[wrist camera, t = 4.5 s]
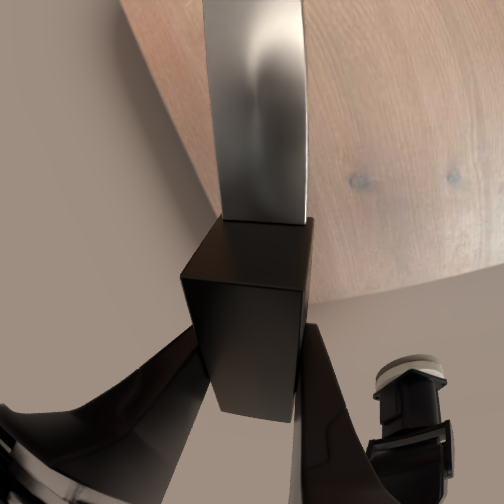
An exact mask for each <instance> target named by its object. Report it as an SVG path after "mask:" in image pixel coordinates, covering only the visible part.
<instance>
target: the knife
mask: <svg viewBox="0 0 504 504" xmlns="http://www.w3.org/2000/svg"><path fill="white" fill-rule="evenodd" d="M202 2H203V18H204V32H205V46H206V59H207V71H208V83H209V94H210V105H211V116H212V126H213V136H214V146H215V156H216V165H217V174H218V184H219V192H220V201H221V210H222V214H221V215H220V217H219V218H218V219H217V221H216V222H215V224H214V225H213V227H212V228H211V230H210V231H209V232H208V234H207V235H206V237H205V238H204V240H203V241H202V243H201V244H200V246H199V247H198V249H197V250H196V252H195V253H194V255H193V256H192V258H191V259H190V261H189V262H188V264H187V265H186V267H185V268H184V270H183V271H182V273H181V274H180V280H181V284H182V288H183V292H184V295H185V299H186V302H187V306H188V310H189V313H190V317H191V320H192V324H193V327H194V331H195V334H196V337H197V341H198V344H199V347H200V350H201V354H202V357H203V360H204V363H205V366H206V369H207V372H208V375H209V378H210V381H211V384H212V387H213V390H214V393H215V395H216V399H217V401H218V404H219V407H220V409H221V411H223V412H228V413H232V414H237V415H242V416H248V417H253V418H259V419H265V420H271V421H278V422H285V423H290V422H291V419H292V414H293V408H294V403H295V391H296V384H297V376H298V368H299V360H300V353H301V347H302V341H303V334H304V328H305V323H306V319H307V309H308V299H309V288H310V276H311V263H312V249H313V233H314V218H312V217H307V216H308V184H309V93H308V62H307V41H306V25H305V11H304V0H202Z"/></svg>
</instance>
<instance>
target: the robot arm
mask: <svg viewBox="0 0 504 504" xmlns="http://www.w3.org/2000/svg"><path fill="white" fill-rule="evenodd" d="M209 384H210V378H209V375H208V372H207V369H206V366H205V363H204V360H203V357H202V354H201V350H200V347H199V344H198V341H197V337H196V334H195V331H194V327H193V325H191V326H190V327H189V328H188V329H187V330H185V331H184V332H183V333H182V334H180V335H179V336H178V337H177V338H175V339H174V340H173V341H172V342H171V343H169V344H168V345H167V346H166V347H164V348H163V349H162V350H161V351H159V352H158V353H157V354H156V355H155V356H153V357H152V358H151V359H149V360H148V361H147V362H146V363H144V364H143V365H142V366H141V367H140V368H139V369H137V370H135V371H134V372H133V373H132V374H130V375H129V376H128V377H126V378H125V379H124V380H122V381H121V382H120V383H118V384H117V385H115V386H114V387H112V388H111V389H109V390H108V391H106V392H104V393H103V394H101V395H100V396H98V397H97V398H95V399H93V400H92V401H90V402H88V403H86V404H85V405H83V406H81V407H79V408H77V409H74V410H71V411H65V412H52V413H31V414H23V413H16V412H13V411H12V410H10V409H9V408H8V407H7V406H6V405H5V404H0V504H161V502H162V500H163V497H164V495H165V492H166V490H167V488H168V485H169V483H170V481H171V478H172V475H173V473H174V471H175V468H176V465H177V463H178V461H179V458H180V456H181V453H182V451H183V448H184V446H185V444H186V441H187V439H188V436H189V434H190V431H191V428H192V426H193V423H194V421H195V419H196V416H197V414H198V411H199V409H200V406H201V404H202V401H203V399H204V396H205V394H206V391H207V389H208V386H209ZM445 385H447V380H446V379H443V378H440V377H437V376H434V375H431V374H428V373H425V372H422V371H419V370H416V369H413V368H412V369H408V370H407V371H405V372H404V373H403V374H401V375H400V376H399V377H397V378H396V379H395V380H393V381H392V382H390V383H389V384H388V385H386V386H385V387H383V388H382V389H380V390H379V391H377V392H376V393H374V394H373V399H375V400H379V401H380V424H381V425H382V439H377V440H375V439H373V440H369V444H368V447H367V450H366V453H365V451H364V449H363V447H362V445H361V443H360V441H359V439H358V436H357V434H356V432H355V429H354V427H353V424H352V421H351V419H350V416H349V413H348V410H347V408H346V404H345V401H344V399H343V396H342V393H341V390H340V387H339V384H338V381H337V378H336V375H335V372H334V370H333V367H332V364H331V361H330V358H329V356H328V353H327V350H326V347H325V345H324V342H323V339H322V336H321V334H320V331H319V328H318V326H317V324H313V323H305V328H304V334H303V341H302V347H301V353H300V360H299V368H298V376H297V384H296V391H295V415H294V435H293V452H292V467H291V480H290V493H289V503H288V504H442V503H443V501H444V499H445V498H446V496H447V479H450V478H453V477H454V438H453V430H452V426H451V423H450V420H446V421H445V422H442V423H441V414H440V405H439V397H438V390H440V389H441V388H443V387H444V386H445ZM445 439H446V442H443V443H441V442H440V441H442V440H445Z"/></svg>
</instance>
